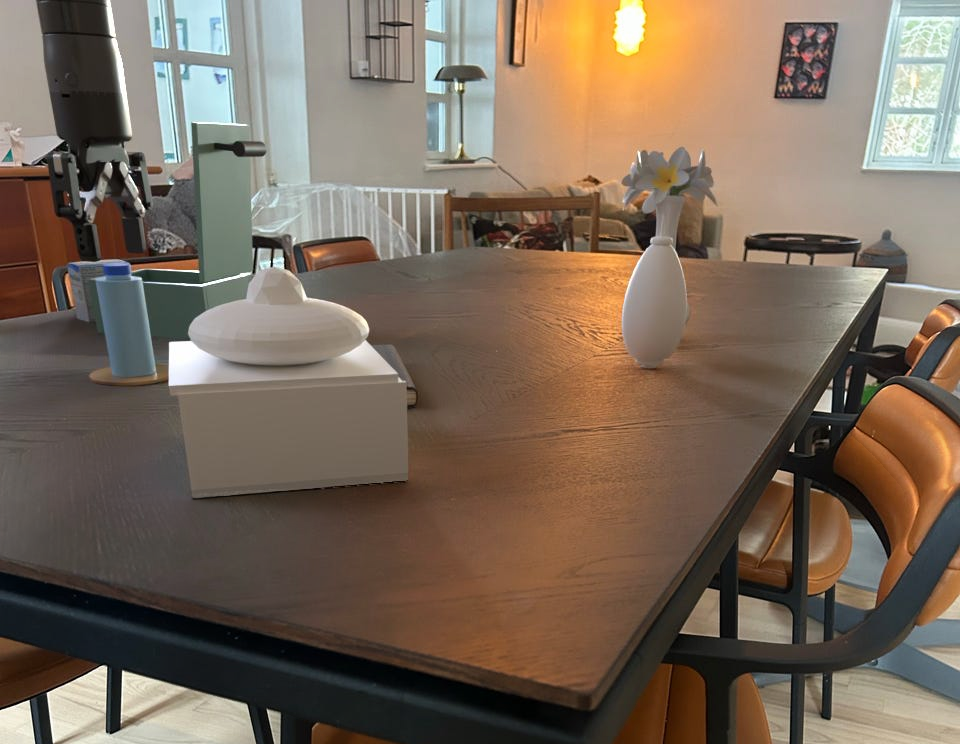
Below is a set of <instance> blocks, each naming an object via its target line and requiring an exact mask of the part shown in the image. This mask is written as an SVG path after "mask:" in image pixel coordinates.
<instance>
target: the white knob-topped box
mask: <svg viewBox="0 0 960 744" xmlns="http://www.w3.org/2000/svg"><path fill="white" fill-rule="evenodd" d="M369 333H370V327H369V323H368V322H367V321H366V319H365V318H364V317H363V316H362V315H361V314H359V313H358V312H356V311H354V310H353V309H351V308H349V307H346V306H344V305H341V304H338V303H336V302H331V301H328V300H323V299H318V298H311V297H307V294H306V292H305V289H304V286H303V284H302V282H301V281H300V280H299V279H298V278H297V277H296V276H295V274H293V273H292V272H291V271H290V270H289V269H285V268H281V267H277V266H271V267H267V268H264V269H261V270H258V271H257V272H256V273H255V275H254V276H253V277H252V278H251V281H250V283H249V285H248V291H247V297H246V299H243V300H238V301H233V302H230V303H226V304H222V305H219V306H216V307H214V308H212V309H209V310H207V311H205V312H204V313H202V314H201V315H199V316H198V317H196V318H195V319H194V320H193V322H192V323H191V324H190V326H189V331H188V335H189V337H190V339H189V340H188V341H187V340H186V341H183V340H182V341H169V342H168V366H169V380H168V391H169V396H170V397H174V396H175V397H177V401H178V408H179V409H178V410H179V415H180V416H179V417H180V422H181V428H182V435H183V441H184V442H183V443H184V449H185V457H186V463H187V464H186V465H187V470H188V477H189V484H190V491H191V495H192V494H199V493H216V492H217V493H218V492H236V491H247V490H269V489H287V488H302V487H303V488H305V487H323V486H336V485H337V486H340V485H354V484H368V483H381V484H384V483H383V482H392V481H403V480H408V481H409V472H410V471H409V470H410V469H409V466H410V465H409V432H408V431H409V428H408V408H407V386H406V381H402V380H401V379H400V378H399V377H398V373H397V372H396V371H395V370H394V369H393V368H392V367H391V366H390V365H389V364H388V363H387V362H386V361H385V360H384V359H383V358H382V357H381V356H380V355H379V354H378V352H377V351H376V350H375V349H374V348H373V347H372V346H371V345H372V344H370V343H369V342H368V341H367V338H368V336H369Z"/></svg>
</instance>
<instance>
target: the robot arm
mask: <svg viewBox="0 0 960 744" xmlns="http://www.w3.org/2000/svg"><path fill="white" fill-rule="evenodd" d="M35 5H36V9H37V10H36V11H37V16H38V21H39V26H40V32H41V39H42V51H43V54H42V55H43V65H44V71H45V75H46V82H47V87H48V93H49V99H50V104H51V109H52V114H53V120H54V121H53V122H54V126H55V131H56V136H57V137H58V139H60V140H61V141H65V142H66V144H67V152H48V153H47V154H46V162H47V163H46V164H47V169H48V175H49V182H50V183H49V185H50V190H51V196H52V204H53V210H54V214H55V216H56V217H57V218H64V219H65V220H68V222H69V223H71V225H72V228H73V233H74V240H75V245H76V250H77V253H78V256H79V259H80V260H81V262H84V261H86V262H97V261H100V260H102V254H101V248H100V241H99V236H98V231H97V225H96V224H95V223H94V221H95V218H96V213H97V209H98V207H99V206H101V205H102V204H103V202H104V199H108V200H109V201H111V202H112V203H114V205H115V207H116V208H117V210H118V211H119V213H120V214H121V216H122V217H121V218H120V219H121V224H122V231H123V238H124V244H125V250H126V252H127V253H129V254H137V255H138V254H139V255H141V254H145V253H146V252H147V245H146V244H147V242H146V235H145V228H144V220H143V218H144V217H145V216H146V212H147V211H152V210H153V208H154V201H153V196H152V190H151V184H150V178H149V173H148V166H147V160H146V155H145V154H144V152H142V151H126V148H125V143H128V142H130V141H131V140H133V130H132V123H131V117H130V110H129V103H128V96H127V89H126V82H125V81H126V80H125V76H124V75H125V74H124V68H123V62H122V58H121V55H120V51H119V48H118V42H117V39H116V38H117V37H116V30H115V23H114V16H113V8H112V3H111V0H35ZM137 187H138V188H140V190H138V188H137ZM139 191H141V197H142V198H140V197H139V195H140V192H139ZM65 192H66V193H67V197H68V203H69V204H66V202H65V194H64V193H65ZM83 206H84V209H83V208H82V207H83Z"/></svg>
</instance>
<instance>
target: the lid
mask: <svg viewBox="0 0 960 744" xmlns="http://www.w3.org/2000/svg"><path fill="white" fill-rule="evenodd" d="M190 127H191V128H190V129H191V144H192V147H191V148H192V165H193V166H192V167H193V184H194V185H193V186H194V205H195V223H196V224H195V225H196V242H197V260H198V261H197V264H198V271H199V282H203V283H205V282H209V281H213V280H218V279H222V278H226V277H230V276H234V275H238V274H248V273H250V272H254V258H253V257H254V255H253V217H252V216H253V215H252V214H253V213H252V211H253V209H252V173H251V171H252V170H251V158H259V157H260V158H262V157H265V155H267V150H268V149H267V145H266V144H265V143H264V142H263V141H261V140H251V134H250V132H251V130H250V125H249V124H241V123H222V122H221V123H219V122H202V121H201V122H198V121H197V122H196V121H191V122H190Z"/></svg>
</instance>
